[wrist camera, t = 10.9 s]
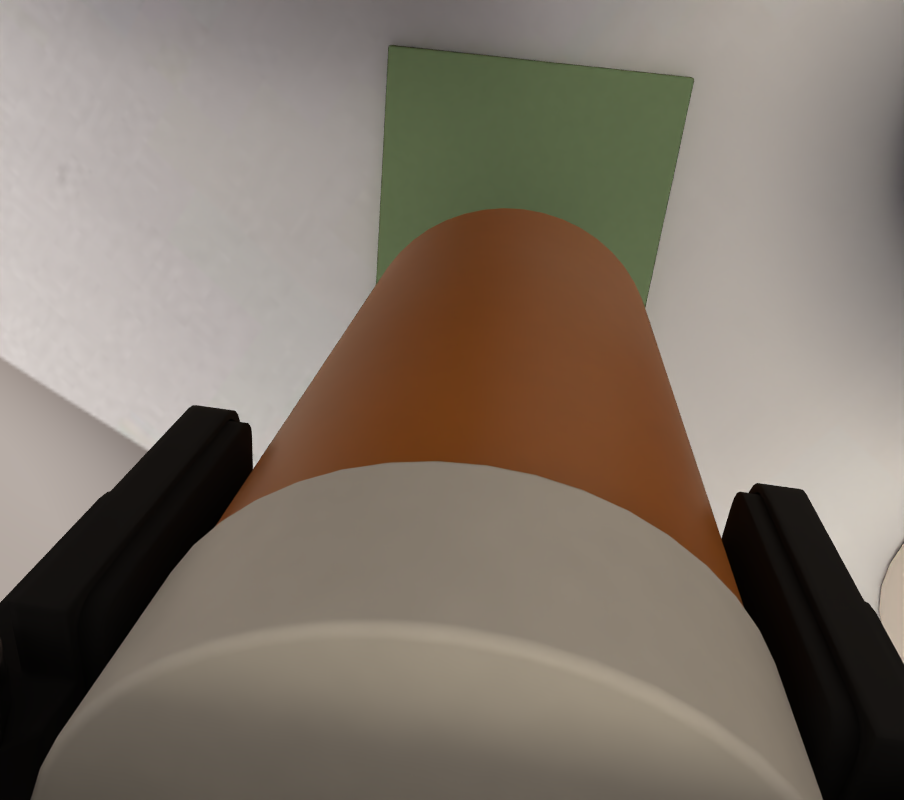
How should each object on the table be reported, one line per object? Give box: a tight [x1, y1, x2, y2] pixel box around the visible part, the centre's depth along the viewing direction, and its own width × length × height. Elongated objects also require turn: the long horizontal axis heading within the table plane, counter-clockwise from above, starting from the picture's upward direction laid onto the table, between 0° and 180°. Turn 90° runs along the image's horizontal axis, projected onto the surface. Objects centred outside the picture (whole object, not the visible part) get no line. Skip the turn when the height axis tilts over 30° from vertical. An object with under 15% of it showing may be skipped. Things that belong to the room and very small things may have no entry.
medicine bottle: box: [31, 208, 823, 800], centre depth 11 cm, size 6×6×12 cm
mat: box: [376, 45, 694, 307], centre depth 28 cm, size 10×10×1 cm
